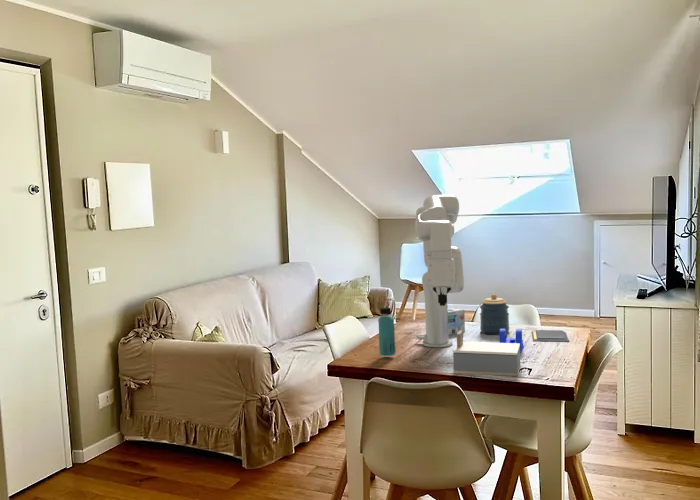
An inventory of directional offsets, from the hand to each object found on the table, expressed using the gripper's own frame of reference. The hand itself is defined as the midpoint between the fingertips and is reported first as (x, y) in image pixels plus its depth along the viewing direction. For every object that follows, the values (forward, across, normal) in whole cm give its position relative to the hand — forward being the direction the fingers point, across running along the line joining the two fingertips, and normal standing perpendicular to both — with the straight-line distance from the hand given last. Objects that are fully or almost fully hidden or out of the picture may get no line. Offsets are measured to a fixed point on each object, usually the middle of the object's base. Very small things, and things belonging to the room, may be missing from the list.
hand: (442, 305), depth 221 cm
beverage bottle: (+23, -24, +9) cm, 35 cm away
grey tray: (+23, +16, 0) cm, 28 cm away
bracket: (+23, +21, +34) cm, 46 cm away
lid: (+16, +16, 0) cm, 22 cm away
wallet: (+24, +36, +56) cm, 71 cm away
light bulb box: (+23, -8, +58) cm, 63 cm away
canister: (+23, +12, +62) cm, 67 cm away
